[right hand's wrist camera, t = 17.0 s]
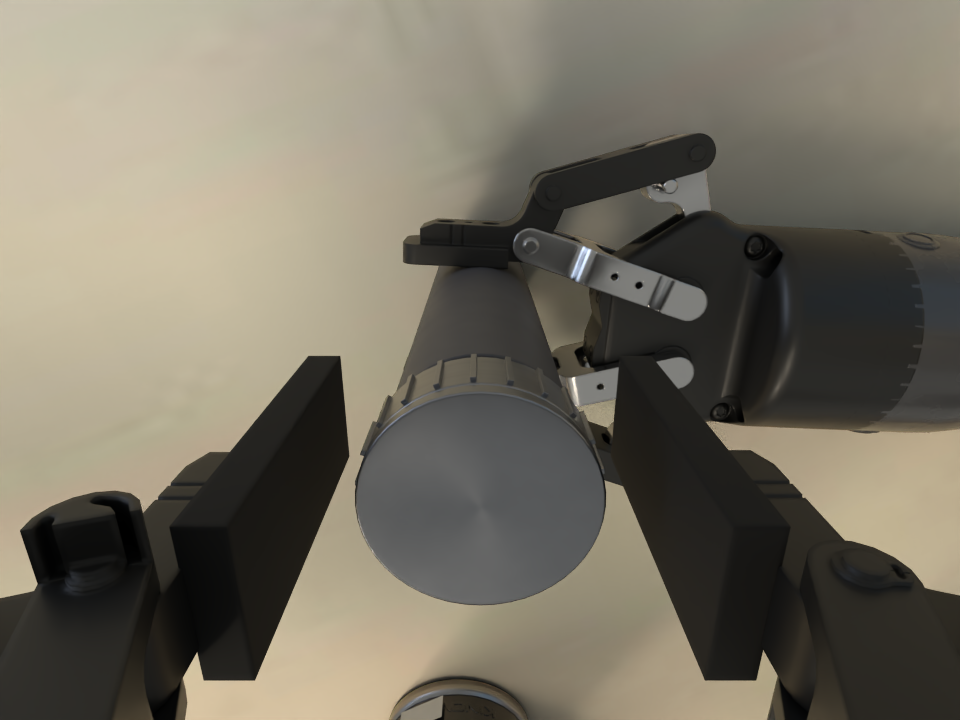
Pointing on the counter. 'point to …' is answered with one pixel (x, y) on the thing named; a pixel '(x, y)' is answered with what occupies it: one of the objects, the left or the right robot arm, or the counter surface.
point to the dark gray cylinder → (480, 321)
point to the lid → (480, 482)
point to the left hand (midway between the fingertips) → (408, 311)
